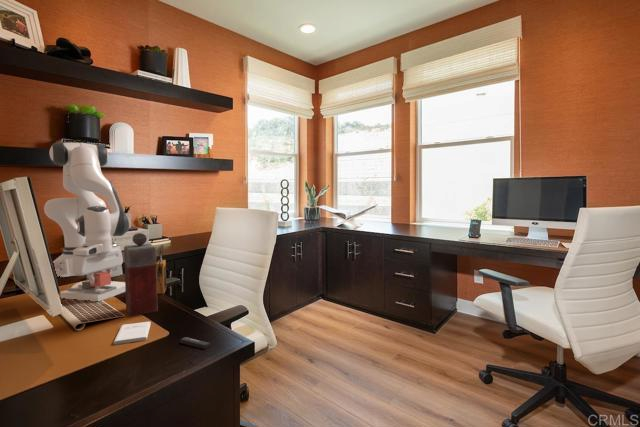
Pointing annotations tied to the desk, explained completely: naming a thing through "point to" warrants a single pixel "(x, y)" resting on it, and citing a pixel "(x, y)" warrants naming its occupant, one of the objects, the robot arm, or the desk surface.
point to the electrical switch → (115, 271)
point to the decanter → (140, 276)
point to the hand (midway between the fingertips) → (100, 281)
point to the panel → (94, 292)
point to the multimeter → (161, 274)
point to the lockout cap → (102, 279)
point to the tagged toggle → (86, 285)
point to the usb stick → (195, 343)
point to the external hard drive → (132, 333)
